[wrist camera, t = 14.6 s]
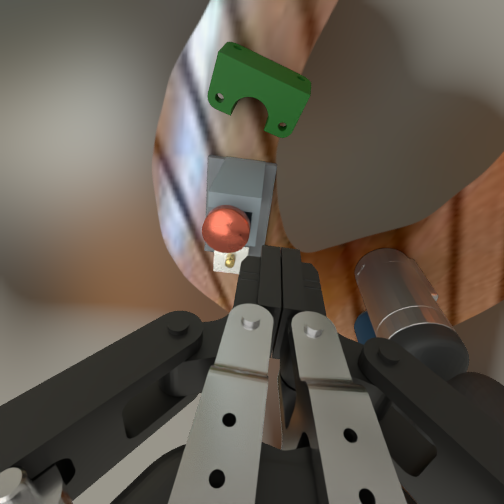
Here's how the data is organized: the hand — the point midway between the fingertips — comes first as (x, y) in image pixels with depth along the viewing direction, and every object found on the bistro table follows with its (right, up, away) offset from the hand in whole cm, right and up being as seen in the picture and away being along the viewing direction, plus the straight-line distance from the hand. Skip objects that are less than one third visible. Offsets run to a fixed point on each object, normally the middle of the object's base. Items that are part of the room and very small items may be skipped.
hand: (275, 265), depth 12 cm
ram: (-3, +10, +31) cm, 33 cm away
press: (-3, +7, +37) cm, 38 cm away
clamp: (0, +22, +28) cm, 36 cm away
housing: (-4, +3, +39) cm, 39 cm away
